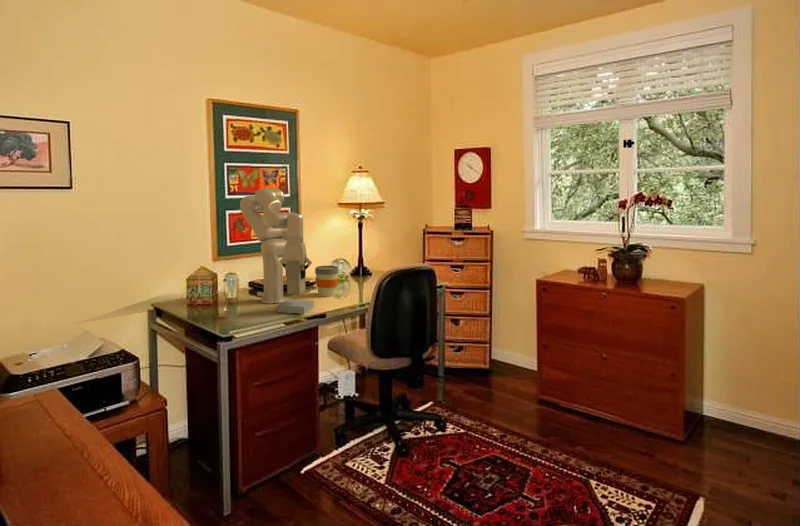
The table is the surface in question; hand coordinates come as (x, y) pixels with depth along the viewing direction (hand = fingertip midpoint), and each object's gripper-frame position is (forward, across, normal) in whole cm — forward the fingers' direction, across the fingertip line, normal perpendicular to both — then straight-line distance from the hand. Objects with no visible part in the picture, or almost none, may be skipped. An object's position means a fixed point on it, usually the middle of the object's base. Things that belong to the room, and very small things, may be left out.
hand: (295, 277), depth 257 cm
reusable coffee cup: (+16, +3, +35) cm, 39 cm away
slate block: (+16, 0, 0) cm, 16 cm away
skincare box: (+7, 0, 0) cm, 7 cm away
